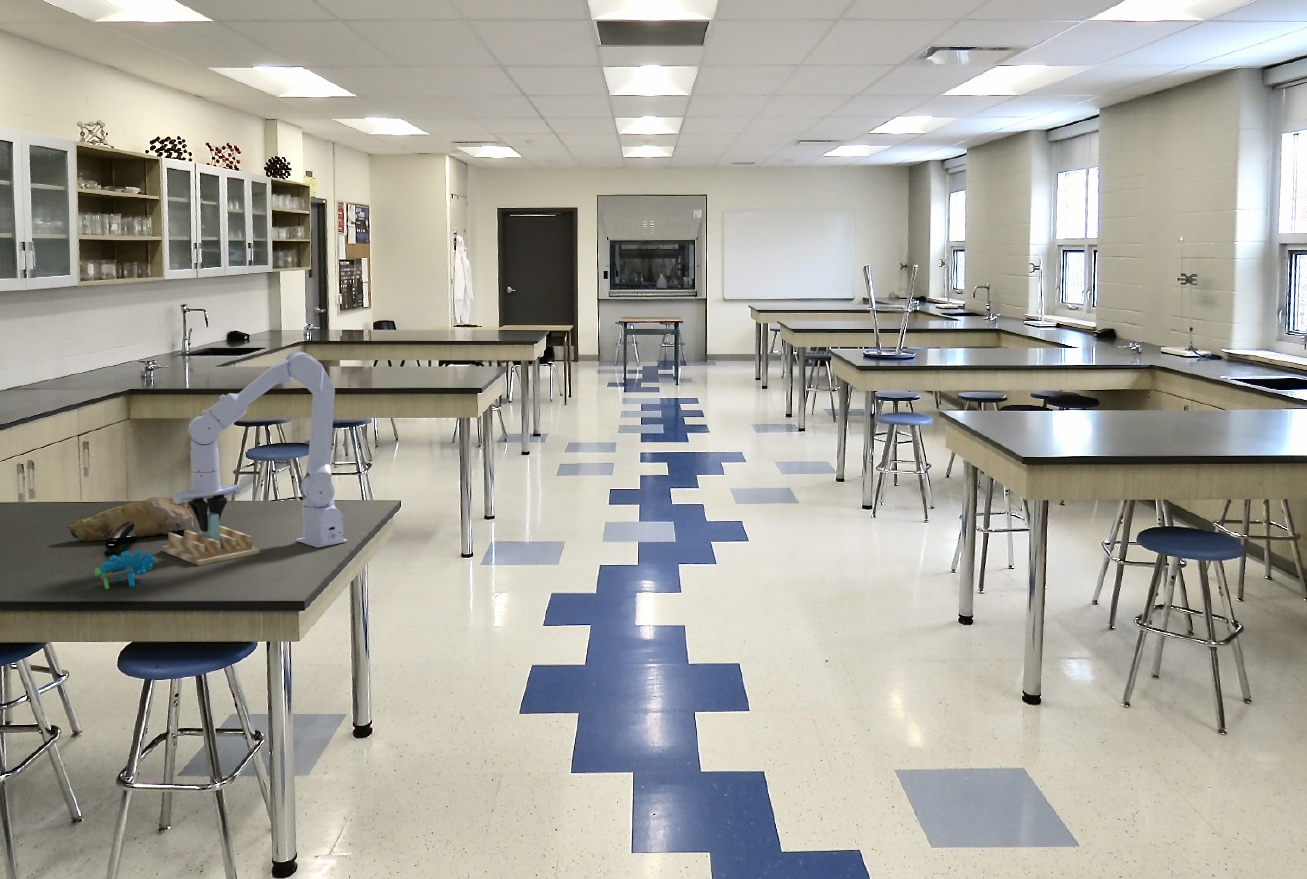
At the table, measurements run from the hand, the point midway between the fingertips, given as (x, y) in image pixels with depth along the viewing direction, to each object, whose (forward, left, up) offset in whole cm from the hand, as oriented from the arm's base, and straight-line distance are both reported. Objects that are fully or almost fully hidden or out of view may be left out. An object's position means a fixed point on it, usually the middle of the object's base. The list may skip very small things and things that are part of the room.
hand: (209, 530), depth 251 cm
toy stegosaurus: (-12, +23, -5) cm, 26 cm away
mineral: (+27, +6, -5) cm, 28 cm away
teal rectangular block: (0, 0, -4) cm, 4 cm away
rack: (0, 0, -5) cm, 5 cm away
